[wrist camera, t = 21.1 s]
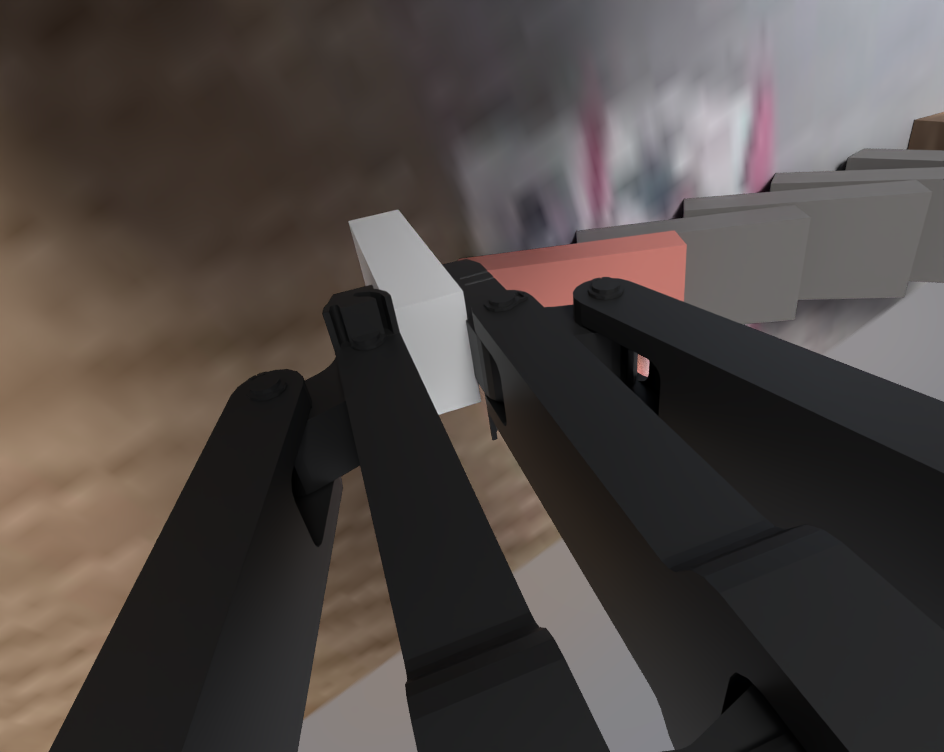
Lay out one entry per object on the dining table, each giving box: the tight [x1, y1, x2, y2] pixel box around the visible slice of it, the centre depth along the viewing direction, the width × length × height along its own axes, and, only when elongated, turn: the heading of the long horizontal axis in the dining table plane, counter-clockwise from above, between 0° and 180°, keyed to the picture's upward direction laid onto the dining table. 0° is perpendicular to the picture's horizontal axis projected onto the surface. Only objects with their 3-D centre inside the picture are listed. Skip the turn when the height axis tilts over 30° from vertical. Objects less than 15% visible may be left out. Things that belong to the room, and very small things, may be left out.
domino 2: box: [683, 180, 932, 300], centre depth 33 cm, size 2×6×12 cm
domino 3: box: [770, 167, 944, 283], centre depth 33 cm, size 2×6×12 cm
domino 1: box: [576, 205, 811, 324], centre depth 32 cm, size 2×6×12 cm
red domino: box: [458, 230, 687, 307], centre depth 31 cm, size 2×6×12 cm
